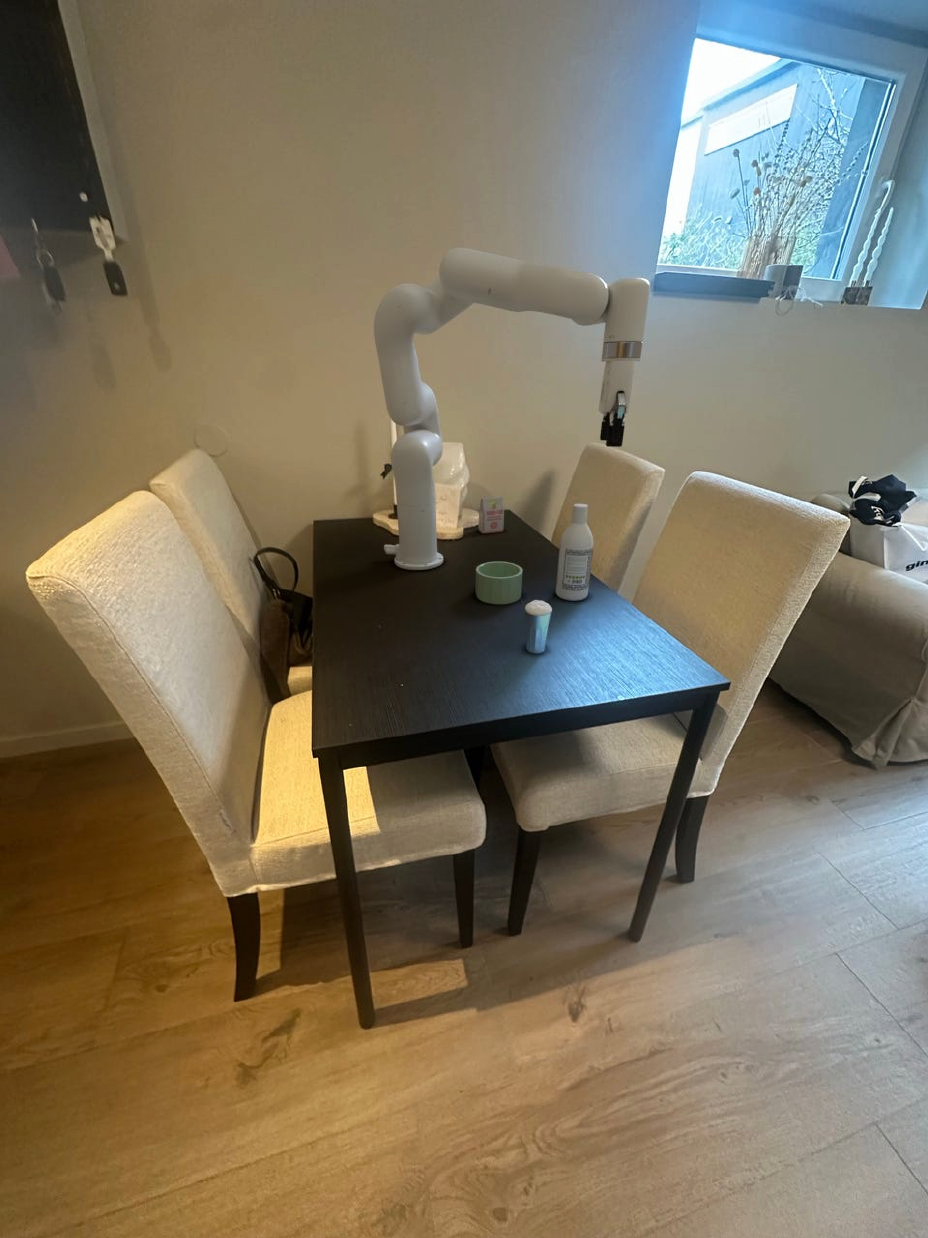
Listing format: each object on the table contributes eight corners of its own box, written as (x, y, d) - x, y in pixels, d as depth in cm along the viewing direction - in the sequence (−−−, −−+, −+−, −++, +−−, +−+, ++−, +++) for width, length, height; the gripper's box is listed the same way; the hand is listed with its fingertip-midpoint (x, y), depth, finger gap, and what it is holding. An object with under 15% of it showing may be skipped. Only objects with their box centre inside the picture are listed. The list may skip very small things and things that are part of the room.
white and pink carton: (478, 530, 154) (479, 497, 149) (498, 528, 156) (499, 496, 151) (482, 533, 151) (483, 500, 146) (503, 531, 153) (504, 498, 148)
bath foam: (593, 598, 108) (605, 507, 99) (565, 603, 106) (575, 510, 97) (576, 587, 114) (586, 499, 105) (549, 591, 112) (557, 502, 103)
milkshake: (516, 643, 91) (518, 593, 86) (545, 642, 91) (549, 592, 86) (520, 656, 87) (523, 604, 82) (551, 655, 87) (555, 603, 82)
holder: (473, 603, 106) (473, 576, 104) (478, 584, 115) (478, 560, 112) (520, 605, 105) (521, 579, 102) (521, 587, 114) (523, 562, 111)
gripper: (597, 354, 107) (588, 438, 115) (608, 352, 92) (597, 448, 100) (632, 354, 107) (621, 438, 114) (650, 351, 91) (635, 449, 99)
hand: (610, 443), depth 107 cm, fingers open, 9 cm apart
